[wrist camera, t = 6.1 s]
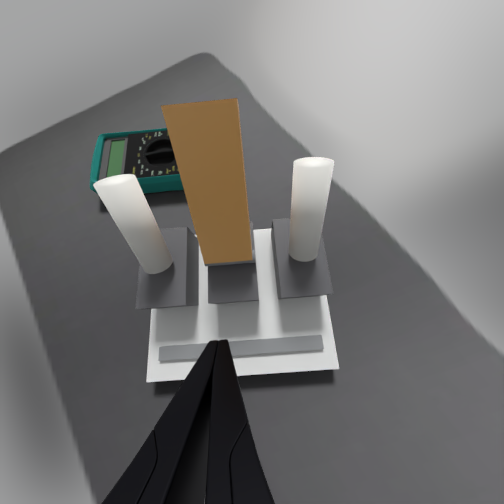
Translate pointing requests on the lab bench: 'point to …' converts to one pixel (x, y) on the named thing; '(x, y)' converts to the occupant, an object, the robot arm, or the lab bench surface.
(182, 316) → the twin post stand
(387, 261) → the lab bench surface
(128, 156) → the digital multimeter
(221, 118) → the wooden block
